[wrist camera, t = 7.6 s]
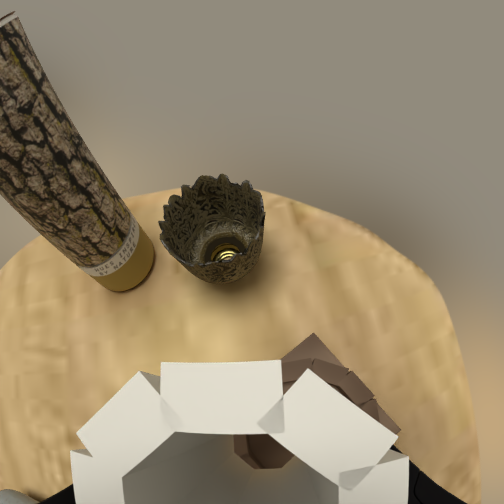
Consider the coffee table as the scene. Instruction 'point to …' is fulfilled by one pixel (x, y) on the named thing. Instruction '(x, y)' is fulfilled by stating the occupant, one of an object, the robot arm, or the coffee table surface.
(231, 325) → the coffee table surface
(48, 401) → the coffee table surface
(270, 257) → the coffee table surface
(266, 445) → the holder
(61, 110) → the paper tube
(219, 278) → the cup
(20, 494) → the ceramic mug
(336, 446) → the tube
